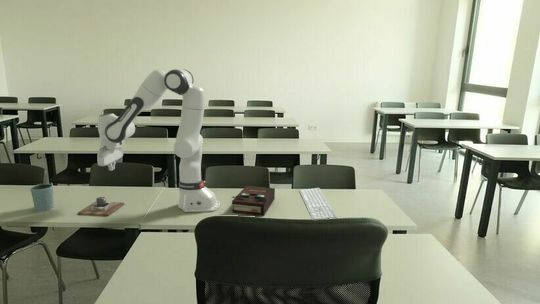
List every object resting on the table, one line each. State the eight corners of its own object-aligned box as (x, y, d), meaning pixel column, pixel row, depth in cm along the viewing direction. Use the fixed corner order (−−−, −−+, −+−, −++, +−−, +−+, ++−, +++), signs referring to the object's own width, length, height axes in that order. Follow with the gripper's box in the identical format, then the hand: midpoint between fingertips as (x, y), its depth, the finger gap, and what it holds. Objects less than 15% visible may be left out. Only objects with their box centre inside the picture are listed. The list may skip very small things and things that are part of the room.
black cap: (107, 206, 198) (107, 197, 197) (103, 209, 194) (102, 200, 193) (99, 205, 199) (99, 196, 197) (95, 208, 194) (94, 199, 193)
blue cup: (36, 213, 190) (33, 190, 187) (30, 208, 197) (27, 186, 194) (58, 208, 197) (55, 186, 194) (51, 203, 204) (48, 181, 201)
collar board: (124, 204, 203) (123, 200, 203) (108, 216, 188) (107, 211, 187) (96, 202, 205) (95, 198, 205) (78, 214, 190) (77, 209, 189)
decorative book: (277, 185, 215) (265, 204, 186) (277, 198, 217) (265, 218, 188) (245, 182, 219) (228, 200, 191) (245, 195, 221) (228, 214, 192)
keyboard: (298, 191, 229) (299, 187, 229) (319, 191, 230) (319, 187, 230) (312, 221, 186) (312, 216, 186) (337, 220, 187) (337, 216, 187)
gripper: (104, 148, 187) (107, 175, 191) (124, 140, 207) (126, 164, 210) (92, 148, 188) (95, 175, 191) (113, 140, 208) (115, 164, 211)
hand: (112, 169), depth 201 cm, fingers closed
